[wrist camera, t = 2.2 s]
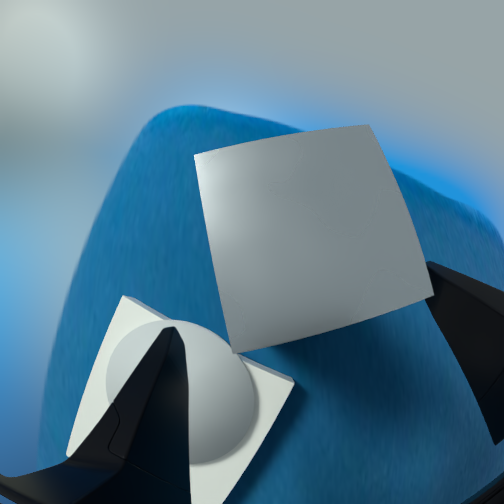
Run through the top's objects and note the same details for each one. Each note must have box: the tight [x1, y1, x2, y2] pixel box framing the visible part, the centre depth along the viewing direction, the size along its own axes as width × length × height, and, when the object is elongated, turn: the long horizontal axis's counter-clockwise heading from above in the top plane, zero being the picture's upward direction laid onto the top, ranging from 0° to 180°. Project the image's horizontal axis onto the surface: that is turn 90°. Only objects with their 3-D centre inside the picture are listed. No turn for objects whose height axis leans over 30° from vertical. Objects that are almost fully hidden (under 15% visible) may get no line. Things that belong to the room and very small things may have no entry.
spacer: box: [194, 125, 434, 354], centre depth 12 cm, size 5×5×13 cm
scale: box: [66, 296, 294, 504], centre depth 15 cm, size 12×16×2 cm
